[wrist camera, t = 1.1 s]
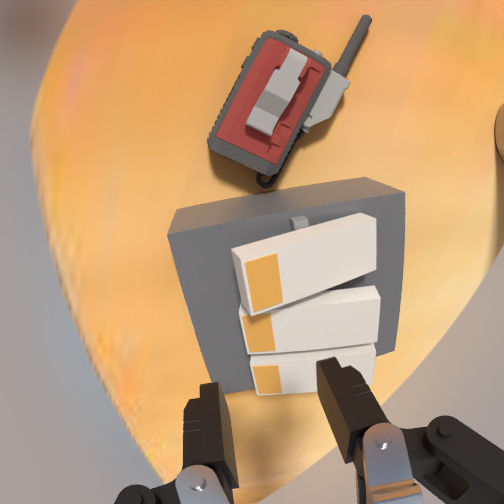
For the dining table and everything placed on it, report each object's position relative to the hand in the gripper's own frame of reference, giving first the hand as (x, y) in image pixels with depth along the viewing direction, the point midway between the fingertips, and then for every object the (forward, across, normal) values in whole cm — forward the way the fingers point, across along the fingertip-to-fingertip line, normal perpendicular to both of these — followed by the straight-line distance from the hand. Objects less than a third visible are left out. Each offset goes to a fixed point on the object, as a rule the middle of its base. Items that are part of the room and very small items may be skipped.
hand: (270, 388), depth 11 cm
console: (+19, -4, +5) cm, 20 cm away
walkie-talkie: (+20, -7, -13) cm, 25 cm away
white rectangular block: (+11, -4, 0) cm, 12 cm away
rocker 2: (+11, -4, +10) cm, 15 cm away
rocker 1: (+11, -4, +5) cm, 13 cm away
